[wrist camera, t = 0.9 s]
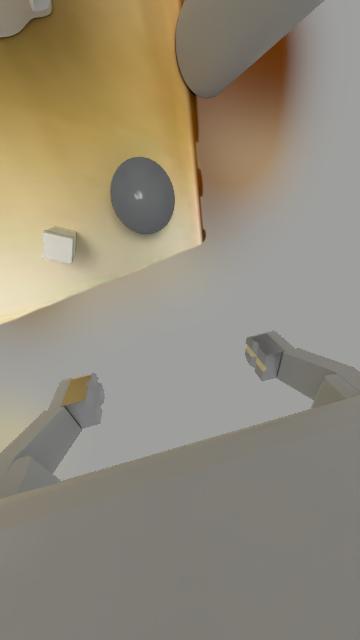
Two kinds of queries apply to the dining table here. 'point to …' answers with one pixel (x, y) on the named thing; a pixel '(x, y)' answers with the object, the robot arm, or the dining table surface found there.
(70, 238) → the column
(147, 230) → the pedestal
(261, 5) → the cylinder vase
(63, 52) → the dining table surface
